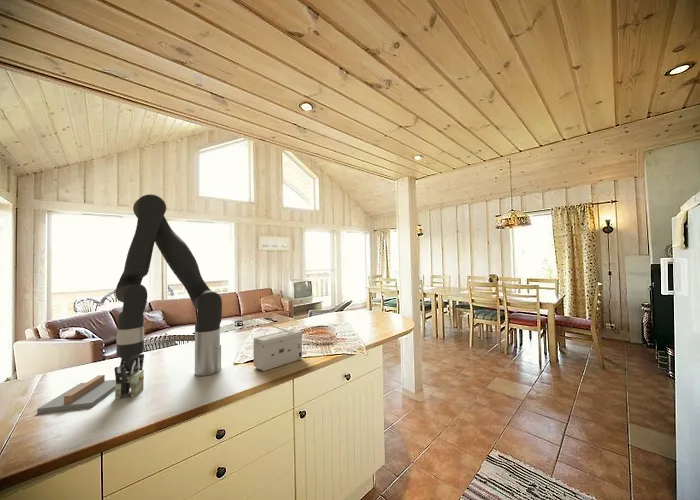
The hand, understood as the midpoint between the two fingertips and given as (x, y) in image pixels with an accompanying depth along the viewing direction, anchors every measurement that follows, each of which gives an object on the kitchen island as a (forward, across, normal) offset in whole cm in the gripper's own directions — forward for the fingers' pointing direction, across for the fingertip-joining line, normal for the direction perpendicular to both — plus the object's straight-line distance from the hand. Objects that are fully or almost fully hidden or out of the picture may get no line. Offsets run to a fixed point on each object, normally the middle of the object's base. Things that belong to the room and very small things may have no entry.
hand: (129, 389), depth 94 cm
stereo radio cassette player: (+2, +15, -50) cm, 52 cm away
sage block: (+1, 0, 0) cm, 1 cm away
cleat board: (+1, +2, +14) cm, 14 cm away
